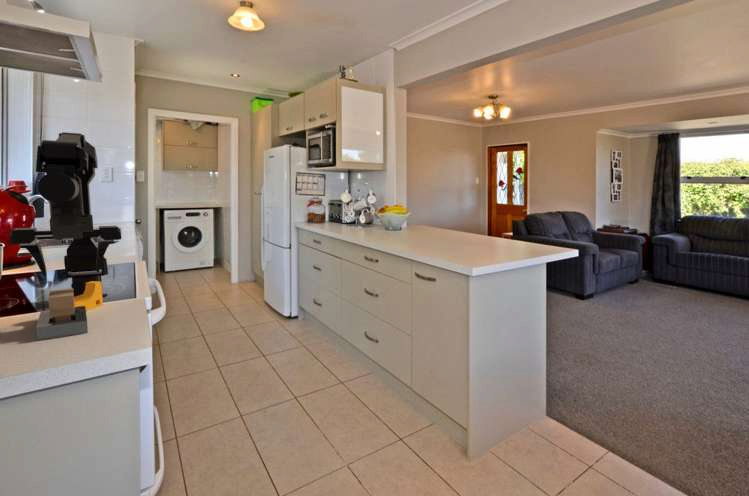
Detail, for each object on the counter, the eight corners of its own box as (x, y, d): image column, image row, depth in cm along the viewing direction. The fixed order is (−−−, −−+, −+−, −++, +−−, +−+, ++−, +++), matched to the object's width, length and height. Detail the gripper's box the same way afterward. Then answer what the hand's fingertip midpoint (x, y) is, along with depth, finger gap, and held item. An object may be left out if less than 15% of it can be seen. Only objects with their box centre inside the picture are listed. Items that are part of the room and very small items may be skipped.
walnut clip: (53, 323, 88) (50, 290, 87) (75, 320, 91) (73, 287, 90) (51, 334, 82) (48, 298, 81) (76, 330, 84) (73, 295, 83)
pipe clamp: (87, 305, 104) (85, 280, 103) (103, 306, 103) (101, 281, 102) (44, 319, 92) (42, 291, 91) (62, 320, 91) (59, 292, 91)
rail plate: (41, 322, 89) (40, 311, 89) (86, 316, 94) (85, 305, 94) (37, 340, 78) (36, 327, 78) (87, 332, 83) (86, 320, 83)
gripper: (0, 202, 74) (9, 286, 76) (121, 202, 85) (125, 275, 87) (9, 201, 83) (17, 275, 85) (117, 201, 94) (121, 267, 96)
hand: (72, 273), depth 88 cm, fingers open, 9 cm apart
